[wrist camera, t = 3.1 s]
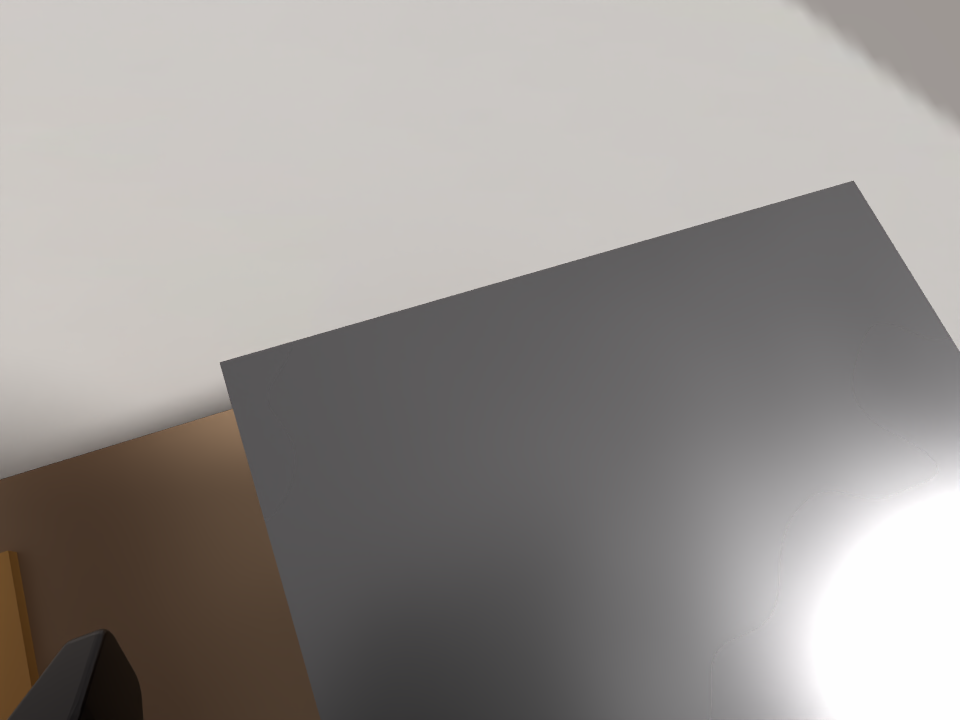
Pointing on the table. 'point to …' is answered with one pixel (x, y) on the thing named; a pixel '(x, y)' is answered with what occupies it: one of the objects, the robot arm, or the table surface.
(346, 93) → the table surface
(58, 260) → the table surface
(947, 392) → the peg
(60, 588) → the wooden peg holder
